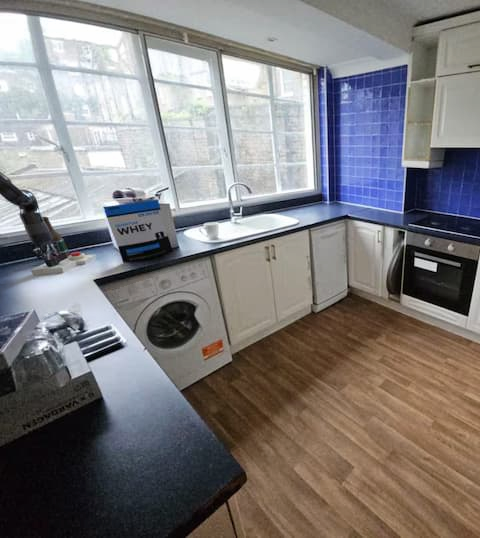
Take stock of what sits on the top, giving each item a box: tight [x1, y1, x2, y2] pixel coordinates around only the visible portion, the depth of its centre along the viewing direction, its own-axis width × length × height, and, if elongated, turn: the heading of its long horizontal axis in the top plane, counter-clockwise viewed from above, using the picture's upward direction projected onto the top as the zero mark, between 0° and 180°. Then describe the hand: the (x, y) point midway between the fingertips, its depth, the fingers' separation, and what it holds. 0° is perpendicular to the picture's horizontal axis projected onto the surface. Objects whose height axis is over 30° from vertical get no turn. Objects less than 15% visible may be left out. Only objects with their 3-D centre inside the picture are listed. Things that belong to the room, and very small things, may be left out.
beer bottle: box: [42, 216, 71, 262], centre depth 160 cm, size 8×8×24 cm
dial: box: [49, 256, 59, 266], centre depth 148 cm, size 4×4×4 cm
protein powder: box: [102, 199, 173, 264], centre depth 160 cm, size 10×24×30 cm, turn 140°
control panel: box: [30, 260, 78, 276], centre depth 149 cm, size 13×10×3 cm
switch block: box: [60, 252, 98, 266], centre depth 159 cm, size 12×10×4 cm
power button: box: [70, 251, 81, 257], centre depth 158 cm, size 4×4×2 cm
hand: (54, 264), depth 148 cm, fingers closed on dial, 4 cm apart
